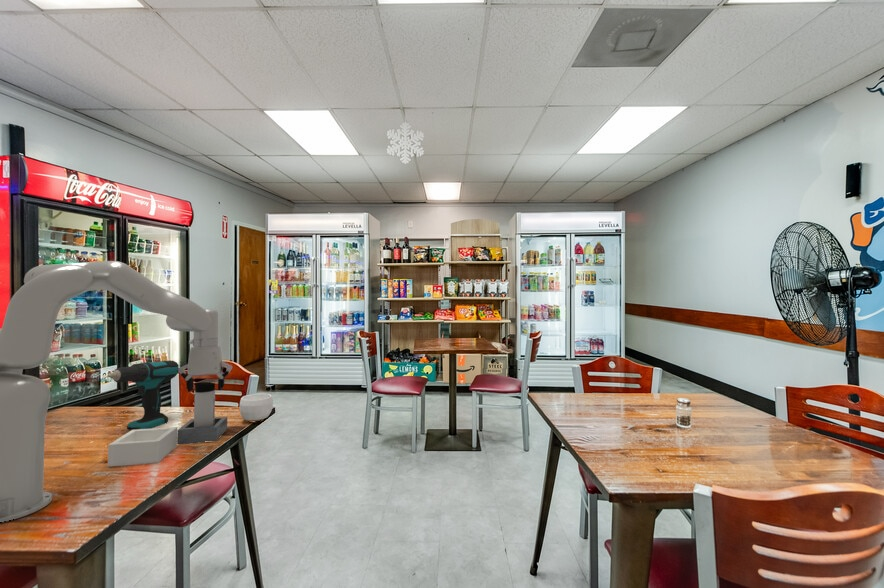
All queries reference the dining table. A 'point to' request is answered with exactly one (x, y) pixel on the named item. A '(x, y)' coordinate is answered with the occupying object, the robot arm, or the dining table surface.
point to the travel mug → (204, 404)
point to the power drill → (148, 388)
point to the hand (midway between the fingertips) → (205, 390)
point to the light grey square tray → (142, 446)
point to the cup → (256, 406)
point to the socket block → (201, 431)
